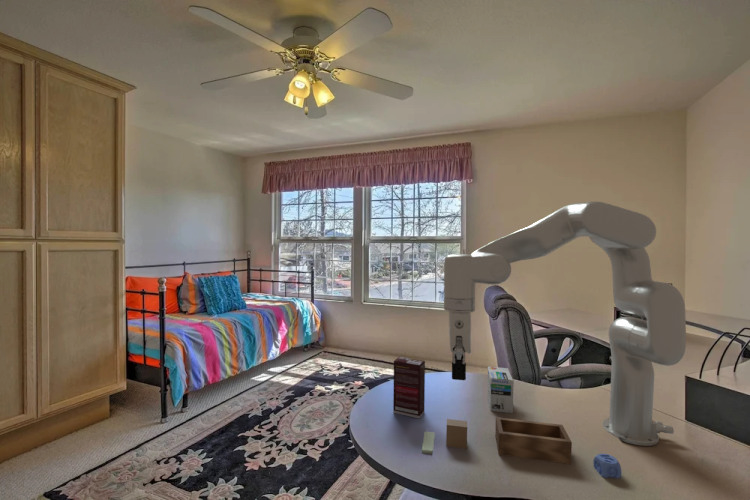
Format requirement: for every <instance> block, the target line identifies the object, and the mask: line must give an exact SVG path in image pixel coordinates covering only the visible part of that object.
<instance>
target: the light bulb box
mask: <svg viewBox="0 0 750 500" xmlns="http://www.w3.org/2000/svg"><path fill="white" fill-rule="evenodd" d="M514 381H515V380H514V378H513V377H512V375H511V372H510V369H509V367H508V368H507V367H497V366H487V392H486V393H487V395H486V396H487V397H486V398H487V404H488V408H489V410H490V411H491V412H500V413H506V414H507V413H508V414H513V413H514V385H515V384H514Z"/></svg>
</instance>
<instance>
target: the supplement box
mask: <svg viewBox="0 0 750 500" xmlns="http://www.w3.org/2000/svg"><path fill="white" fill-rule="evenodd" d="M425 373H426V361H425V360H423V359H415V358H409V357H404V356H399V357H397V358H396V359H394V361H393V401H392V402H393V404H392V405H393V406H392V407H393V412H392V413H393V414H398V415H403V416H406V417H410V418H411V417H412V418H415V419H418V420H419V419H421V418H422V416H423V415H424V413H425V398H426V397H425V391H426V390H425V387H426V379H425V377H426V374H425Z"/></svg>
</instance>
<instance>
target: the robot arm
mask: <svg viewBox="0 0 750 500" xmlns="http://www.w3.org/2000/svg"><path fill="white" fill-rule="evenodd" d="M656 236H657V227H656V225H655V223H654V222H653V220H652V219H651V218H650V217H649V216H647V215H645V214H643V213H640V212H637V211H633V210H630V209H627V208H623V207H621V206H618V205H613V204H610V203H605V202H603V201H602V202H601V201H587V202H585V201H584V202H576V203H575V202H574V203H570V204H567V205H565V206H562V207H561V208H559V209H557V210H555V211H554V212H552V213H550V214H548V215H546V216H545V217H543V218H542V219H539V220H537V221H535V222H534V223H532V224H530V225H528V226H527V227H524V228H521V229H519V230H516V231H514V232H512V233H510V234H507V235H505V236H502V237H500V238H497V239H495V240H493V241H491V242H489V243H488V244H485V245H484V246H482V247H480V248H478V249H476V250H474V251H473V252H471V254H468V253H467V254H466V253H452V254H451V253H450V254H448V255H446V256H445V258H444V264H443V267H444V268H443V271H444V272H443V275H444V276H443V278H444V279H443V310H444V311H445V312H448V337H449V338H448V339H449V348H450V352H451V353H452V362H451V379H452V380H455V381H466V379H467V377H466V376H467V372H466V371H467V363H466V353H467V354H471V353H472V315H471V313H473V312H475V311H476V284H483V285H484V284H485V285H492V286H493V285H500V284H503V283H504V282H506V281H507V280H509V278H510V276H511V274H512V265H511V264H514V263H516V262H520V261H527V260H534V259H538V258H542V257H545V256H547V255H549V254H552V253H553V252H555V251H556V250H558V249H560V248H561V247H563V246H565V245H567V244H568V243H570V242H572V241H574V240H576V239H577V238H579V237H588V238H589V239H590V241H591V242H592V243H593V244H595V245H596V246H598V247H599V248H600V249H602V250H603V251H604V252H605V253H606V255H607V256H608V257H609V260H610V263H611V271H612V275H611V276H612V295H613V296H612V297H613V303H614V305H615V307H616V308H617V309H619V311H621V312H624V313H626V314H631V315H634V316H638V317H642V318H646V320H644V319H641V318H637V317H633V316H622V317H618V318H617V319H614V320H613V322H612V323H611V324H610V325H609V328H608V341H609V346H610V353H611V355H610V356H611V370H610V373H611V374H610V391H609V395H610V396H609V397H610V398H609V416H608V417H609V418H606V419H604V420H603V421H602V427H603V429H604V430H605V431H606V432H608V433H609V434H611V435H612V436H614V437H616V438H618V439H619V441H621V442H624V443H627V444H631V445H636V446H642V447H644V446H645V447H649V446H650V447H651V446H655V445H657V444H658V443H659V440H660V438H659V437H660V436H659V434H661V433H664V434H671V435H673V434H674V433H675V431H674V428H673V426H672V425H666V424H663V422H662V421H657V420H655V421H654V420H653V408H654V388H655V370H654V365H653V363H654V364H657V365H661V366H664V367H665V366H667V367H669V366H674V365H677V364H678V363H680V362H681V360H682V359H683V358H684V355H685V352H686V347H687V327H686V326H687V325H686V324H687V321H686V305H685V299H684V297H683V295H682V293H681V291H679V289H678V288H677V287H675V286H674V285H672V284H670V283H667V282H662V281H655V280H653V278H652V277H653V276H652V270H651V269H652V268H651V267H652V266H651V261H650V260H651V259H650V257H649V254H648V252H647V250H646V249H645V248H647V247H648V246H650V245H651V244H652V243H653V242H654V240H655V238H656Z"/></svg>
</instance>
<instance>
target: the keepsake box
mask: <svg viewBox="0 0 750 500" xmlns="http://www.w3.org/2000/svg"><path fill="white" fill-rule="evenodd" d="M494 433H495V441H496V447H497V452H498V455H500V456H509V457H515V458H521V459H522V458H523V459H529V460H536V461H543V462H544V461H545V462H551V463H552V462H553V463H559V464H566V465H571V464H572V450H573V449H572V445H573V442H572V440H571V438H570V436H569V434H568V433H567V431H566V429H565V427H564V425H563V424H557V423H551V422H541V421H540V422H539V421H534V420H533V421H532V420H524V419H523V420H522V419H513V418H505V417H497V416H495V431H494Z"/></svg>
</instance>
